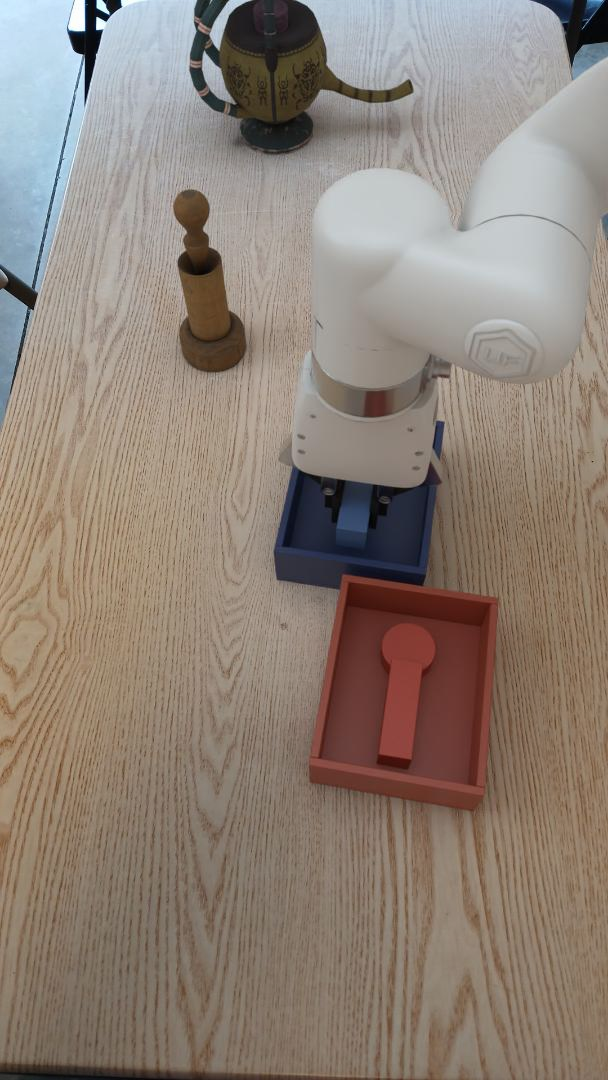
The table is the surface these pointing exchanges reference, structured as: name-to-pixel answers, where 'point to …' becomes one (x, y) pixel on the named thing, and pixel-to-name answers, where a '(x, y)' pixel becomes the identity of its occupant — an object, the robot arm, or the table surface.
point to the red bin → (444, 700)
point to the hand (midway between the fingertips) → (356, 510)
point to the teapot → (271, 71)
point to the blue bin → (320, 562)
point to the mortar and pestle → (205, 293)
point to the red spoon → (402, 690)
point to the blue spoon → (354, 515)
